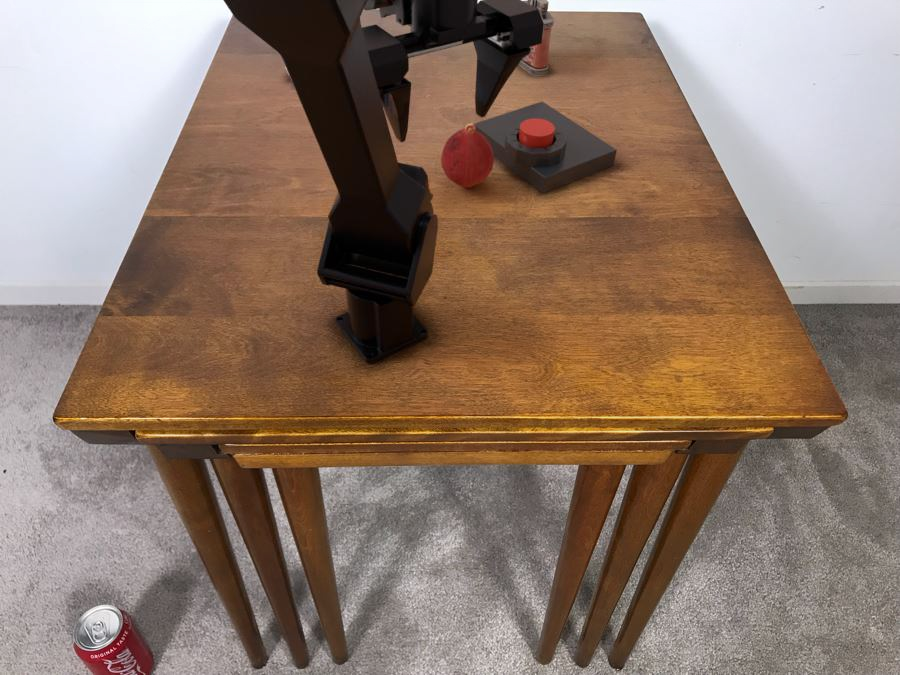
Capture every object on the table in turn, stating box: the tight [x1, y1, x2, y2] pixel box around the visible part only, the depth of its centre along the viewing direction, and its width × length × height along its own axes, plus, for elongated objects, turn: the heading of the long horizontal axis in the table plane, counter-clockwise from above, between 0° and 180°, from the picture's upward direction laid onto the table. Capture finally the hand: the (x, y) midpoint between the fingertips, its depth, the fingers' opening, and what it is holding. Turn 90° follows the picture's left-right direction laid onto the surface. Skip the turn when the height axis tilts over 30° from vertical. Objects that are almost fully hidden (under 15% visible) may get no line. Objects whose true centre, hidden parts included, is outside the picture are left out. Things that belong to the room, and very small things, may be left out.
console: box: [474, 101, 618, 194], centre depth 86 cm, size 14×12×4 cm
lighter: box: [518, 0, 555, 77], centre depth 101 cm, size 8×3×10 cm, turn 22°
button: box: [519, 119, 555, 148], centre depth 82 cm, size 4×4×2 cm
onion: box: [440, 122, 495, 189], centre depth 79 cm, size 6×6×8 cm
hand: (441, 127), depth 69 cm, fingers open, 9 cm apart
